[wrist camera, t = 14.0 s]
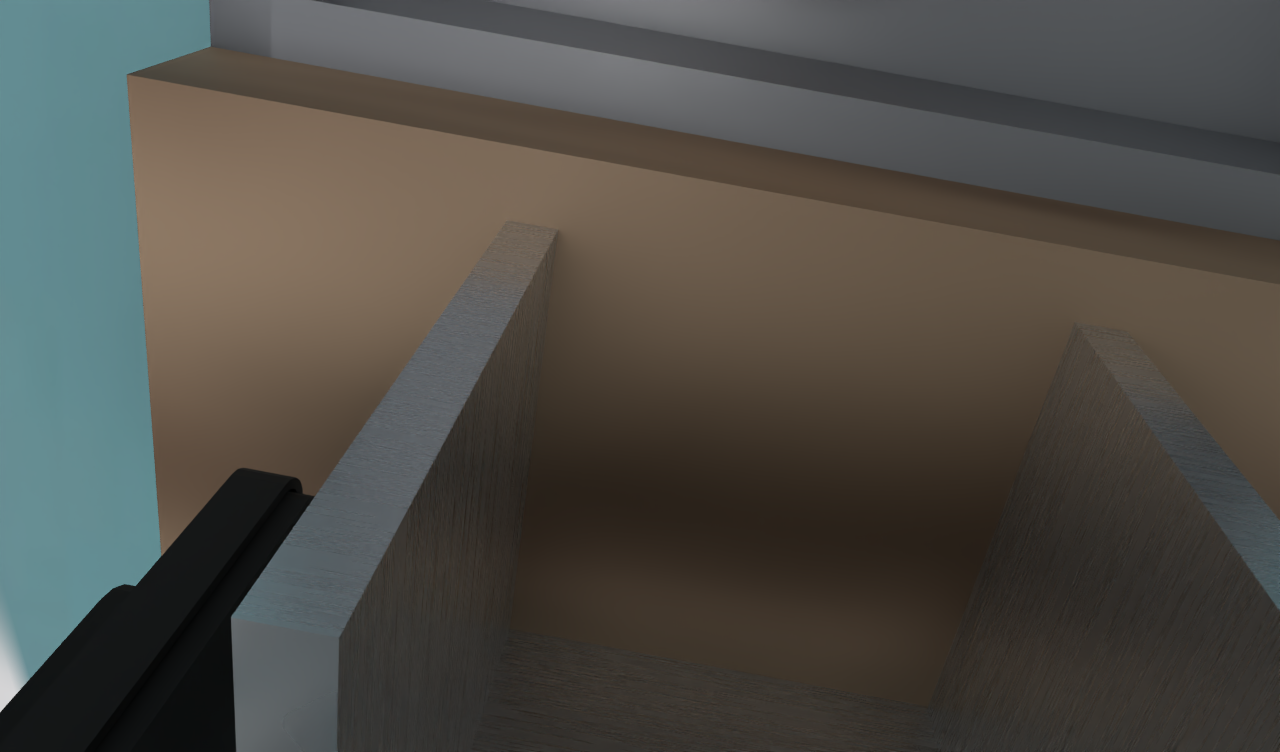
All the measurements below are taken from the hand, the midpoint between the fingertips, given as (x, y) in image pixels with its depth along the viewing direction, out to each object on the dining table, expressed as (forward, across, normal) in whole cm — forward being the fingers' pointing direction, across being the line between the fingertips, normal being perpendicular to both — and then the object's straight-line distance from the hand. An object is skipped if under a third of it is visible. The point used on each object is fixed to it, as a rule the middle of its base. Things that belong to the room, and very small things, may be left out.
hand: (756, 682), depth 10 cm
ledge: (+8, 0, 0) cm, 8 cm away
